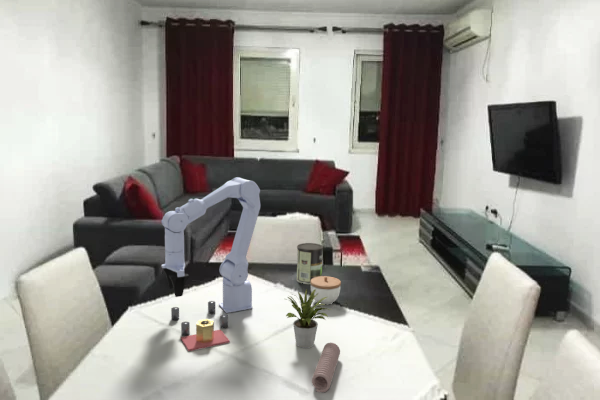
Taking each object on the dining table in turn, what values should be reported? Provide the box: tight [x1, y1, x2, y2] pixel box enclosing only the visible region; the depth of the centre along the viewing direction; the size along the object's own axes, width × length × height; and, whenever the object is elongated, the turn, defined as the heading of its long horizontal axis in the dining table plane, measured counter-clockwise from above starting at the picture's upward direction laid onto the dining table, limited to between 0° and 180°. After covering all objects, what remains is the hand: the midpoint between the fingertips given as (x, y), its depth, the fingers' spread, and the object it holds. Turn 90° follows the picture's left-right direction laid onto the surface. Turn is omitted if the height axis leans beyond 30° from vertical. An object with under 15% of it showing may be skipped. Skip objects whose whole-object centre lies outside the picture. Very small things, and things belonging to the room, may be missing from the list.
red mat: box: [180, 328, 231, 352], centre depth 138 cm, size 12×8×1 cm, turn 119°
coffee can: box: [296, 242, 324, 285], centre depth 190 cm, size 10×10×14 cm
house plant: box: [285, 288, 332, 349], centre depth 135 cm, size 14×14×16 cm
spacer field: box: [170, 300, 229, 337], centre depth 149 cm, size 14×14×4 cm
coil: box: [311, 342, 341, 393], centre depth 122 cm, size 5×5×18 cm
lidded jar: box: [310, 275, 342, 305], centre depth 168 cm, size 11×11×9 cm
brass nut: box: [195, 318, 215, 343], centre depth 137 cm, size 5×4×5 cm
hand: (175, 291), depth 149 cm, fingers open, 7 cm apart
